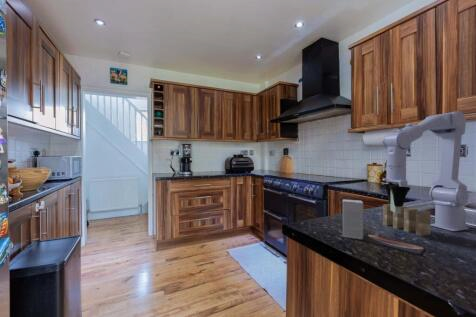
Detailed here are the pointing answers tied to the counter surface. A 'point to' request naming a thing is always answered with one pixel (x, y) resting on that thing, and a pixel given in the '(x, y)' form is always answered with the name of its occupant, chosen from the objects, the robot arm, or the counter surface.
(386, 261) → the counter surface
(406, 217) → the domino
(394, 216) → the domino
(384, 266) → the counter surface
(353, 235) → the skincare box
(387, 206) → the domino
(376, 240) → the brown flat slab
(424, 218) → the domino
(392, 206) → the domino
